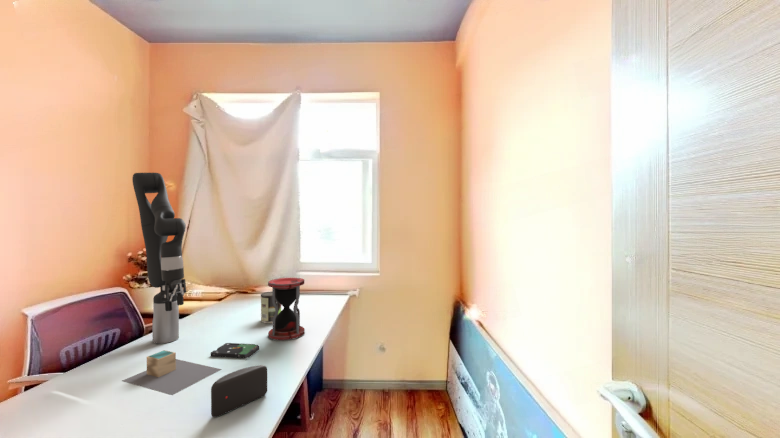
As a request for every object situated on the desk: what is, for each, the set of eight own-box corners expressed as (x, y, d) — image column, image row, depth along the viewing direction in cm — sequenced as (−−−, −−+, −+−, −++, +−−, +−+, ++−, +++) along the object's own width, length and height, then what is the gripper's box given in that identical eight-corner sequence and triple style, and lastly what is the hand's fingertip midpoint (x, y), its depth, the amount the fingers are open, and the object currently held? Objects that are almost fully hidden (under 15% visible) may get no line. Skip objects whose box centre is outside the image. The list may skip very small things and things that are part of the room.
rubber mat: (121, 382, 109) (121, 380, 109) (174, 360, 126) (174, 358, 126) (172, 396, 101) (172, 395, 101) (221, 370, 117) (221, 369, 117)
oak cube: (146, 374, 114) (146, 356, 114) (164, 366, 119) (164, 349, 119) (158, 377, 112) (158, 359, 112) (175, 369, 117) (175, 352, 117)
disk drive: (209, 360, 128) (246, 361, 126) (209, 352, 128) (246, 354, 126) (226, 349, 138) (259, 350, 136) (225, 342, 138) (259, 343, 136)
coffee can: (284, 317, 179) (284, 291, 179) (277, 323, 169) (277, 295, 169) (265, 317, 179) (265, 291, 179) (257, 323, 169) (257, 295, 169)
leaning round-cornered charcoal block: (260, 390, 105) (260, 360, 105) (268, 395, 102) (268, 365, 102) (206, 414, 92) (205, 380, 92) (212, 420, 89) (212, 385, 89)
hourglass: (284, 343, 143) (284, 285, 142) (260, 336, 151) (260, 281, 151) (312, 332, 156) (311, 279, 156) (288, 326, 165) (288, 276, 164)
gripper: (172, 265, 140) (174, 304, 140) (151, 271, 126) (154, 313, 126) (191, 264, 141) (193, 302, 141) (172, 269, 127) (175, 312, 127)
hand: (174, 307), depth 134 cm, fingers open, 8 cm apart
